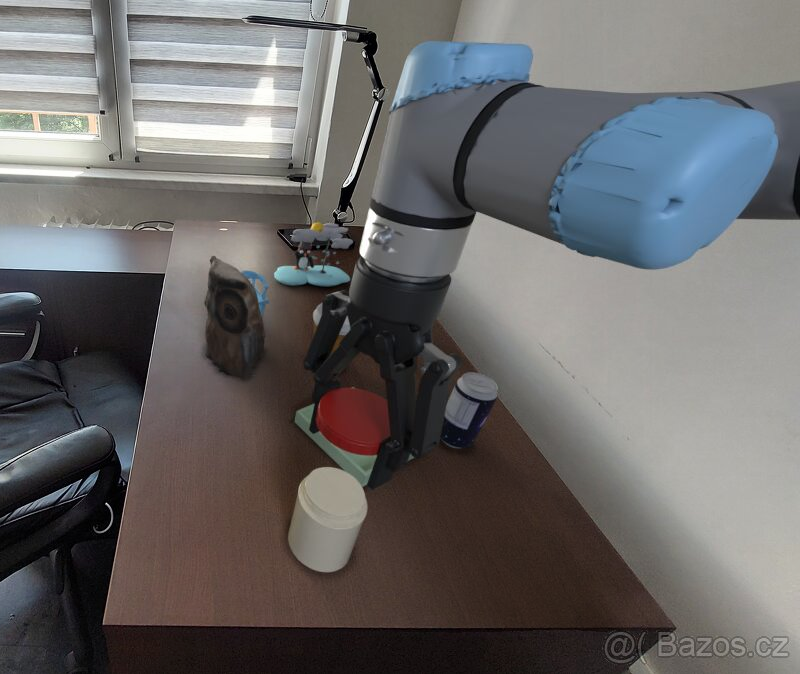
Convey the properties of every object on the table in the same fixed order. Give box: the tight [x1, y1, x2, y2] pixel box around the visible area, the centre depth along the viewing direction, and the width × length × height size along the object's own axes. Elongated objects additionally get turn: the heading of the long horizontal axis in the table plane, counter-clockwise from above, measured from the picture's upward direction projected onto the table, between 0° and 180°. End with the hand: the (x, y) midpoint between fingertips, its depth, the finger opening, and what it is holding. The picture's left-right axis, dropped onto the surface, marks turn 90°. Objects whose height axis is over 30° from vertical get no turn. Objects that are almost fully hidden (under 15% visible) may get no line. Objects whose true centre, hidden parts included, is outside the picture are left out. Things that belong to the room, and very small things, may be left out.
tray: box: [293, 386, 415, 488], centre depth 74 cm, size 15×13×2 cm
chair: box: [240, 270, 270, 320], centre depth 99 cm, size 8×8×12 cm
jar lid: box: [315, 387, 391, 456], centre depth 47 cm, size 8×8×2 cm
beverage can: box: [440, 371, 499, 449], centre depth 72 cm, size 6×6×12 cm
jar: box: [287, 466, 368, 573], centre depth 56 cm, size 8×8×10 cm
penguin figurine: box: [273, 221, 354, 288], centre depth 117 cm, size 20×11×15 cm, turn 91°
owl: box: [204, 255, 266, 381], centre depth 86 cm, size 13×13×20 cm
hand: (347, 453), depth 50 cm, fingers closed on jar lid, 8 cm apart
